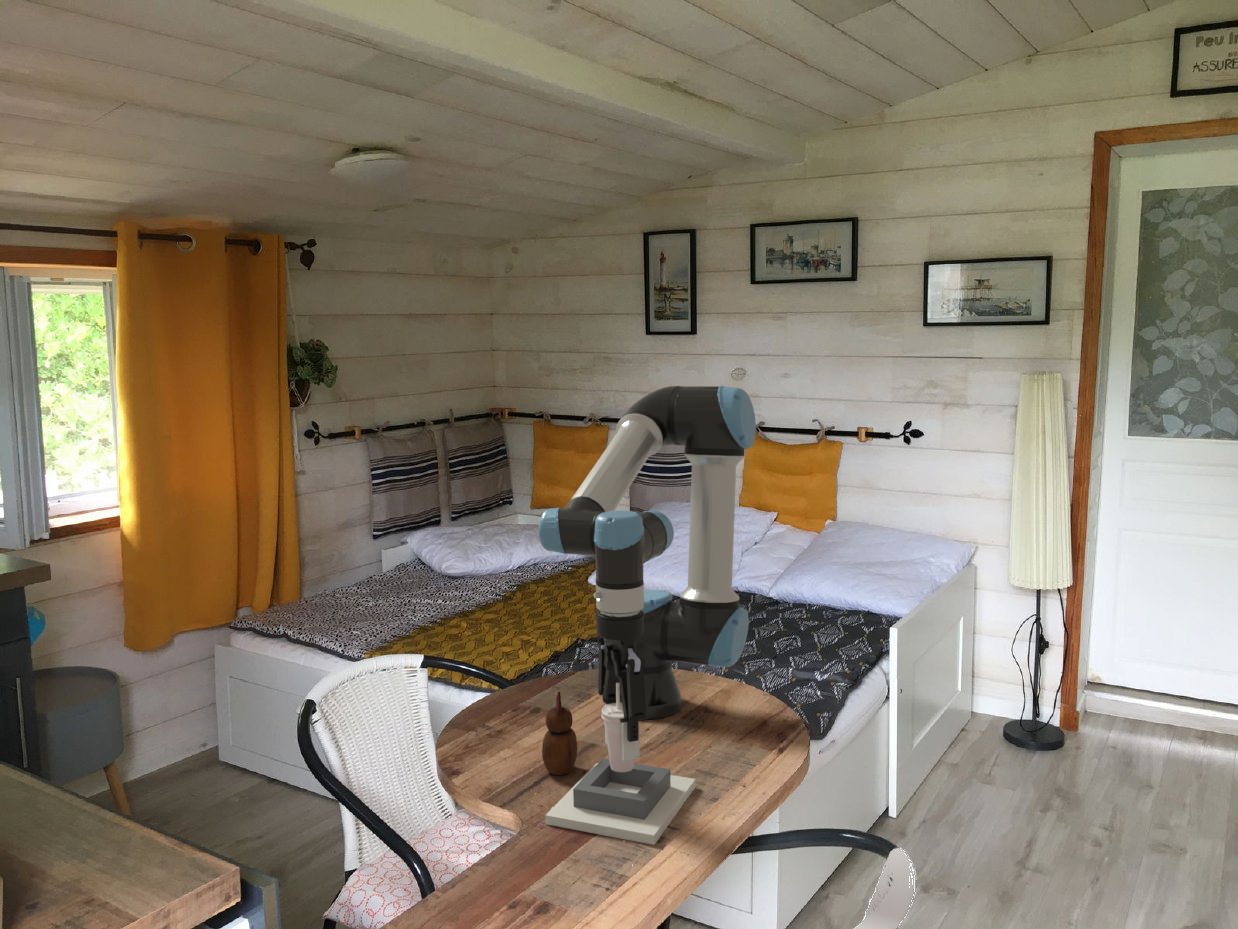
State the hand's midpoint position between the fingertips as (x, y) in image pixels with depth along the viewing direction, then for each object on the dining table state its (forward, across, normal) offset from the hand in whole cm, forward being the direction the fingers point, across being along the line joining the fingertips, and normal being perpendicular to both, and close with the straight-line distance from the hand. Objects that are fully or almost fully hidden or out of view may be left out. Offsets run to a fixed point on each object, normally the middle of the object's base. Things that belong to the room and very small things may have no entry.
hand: (622, 750), depth 164 cm
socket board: (+9, 0, 0) cm, 9 cm away
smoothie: (+3, 0, 0) cm, 3 cm away
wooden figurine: (+10, -16, -5) cm, 20 cm away
